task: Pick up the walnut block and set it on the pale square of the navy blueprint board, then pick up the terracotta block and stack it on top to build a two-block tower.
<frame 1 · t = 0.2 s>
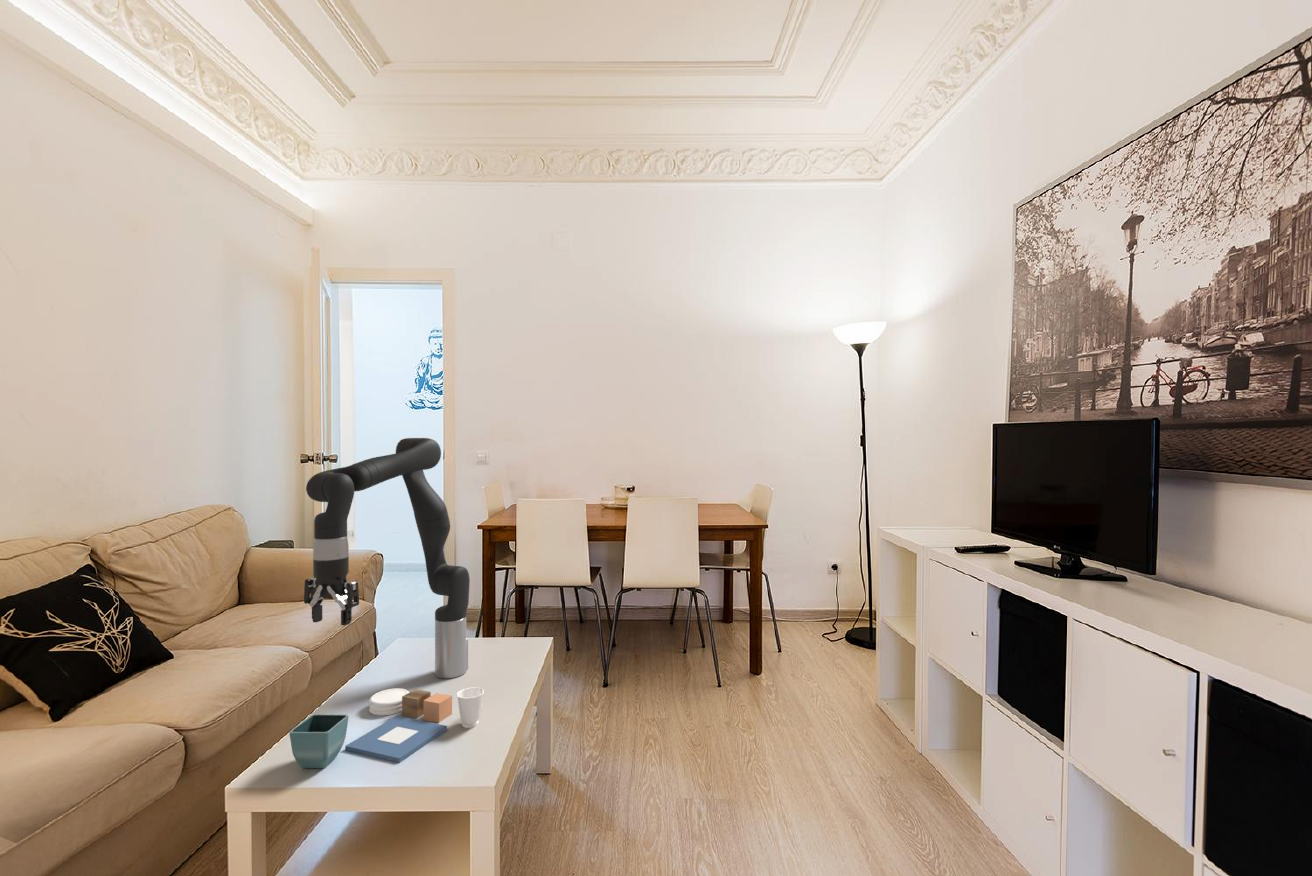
hand: (331, 623, 144), 28 cm above the table, fingers open, 8 cm apart
blueprint board: (397, 739, 144), on the table
flower pot: (319, 763, 134), on the table
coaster: (389, 709, 162), on the table
walnut block: (416, 713, 159), on the table
cup: (472, 722, 154), on the table
terracotta block: (437, 717, 156), on the table
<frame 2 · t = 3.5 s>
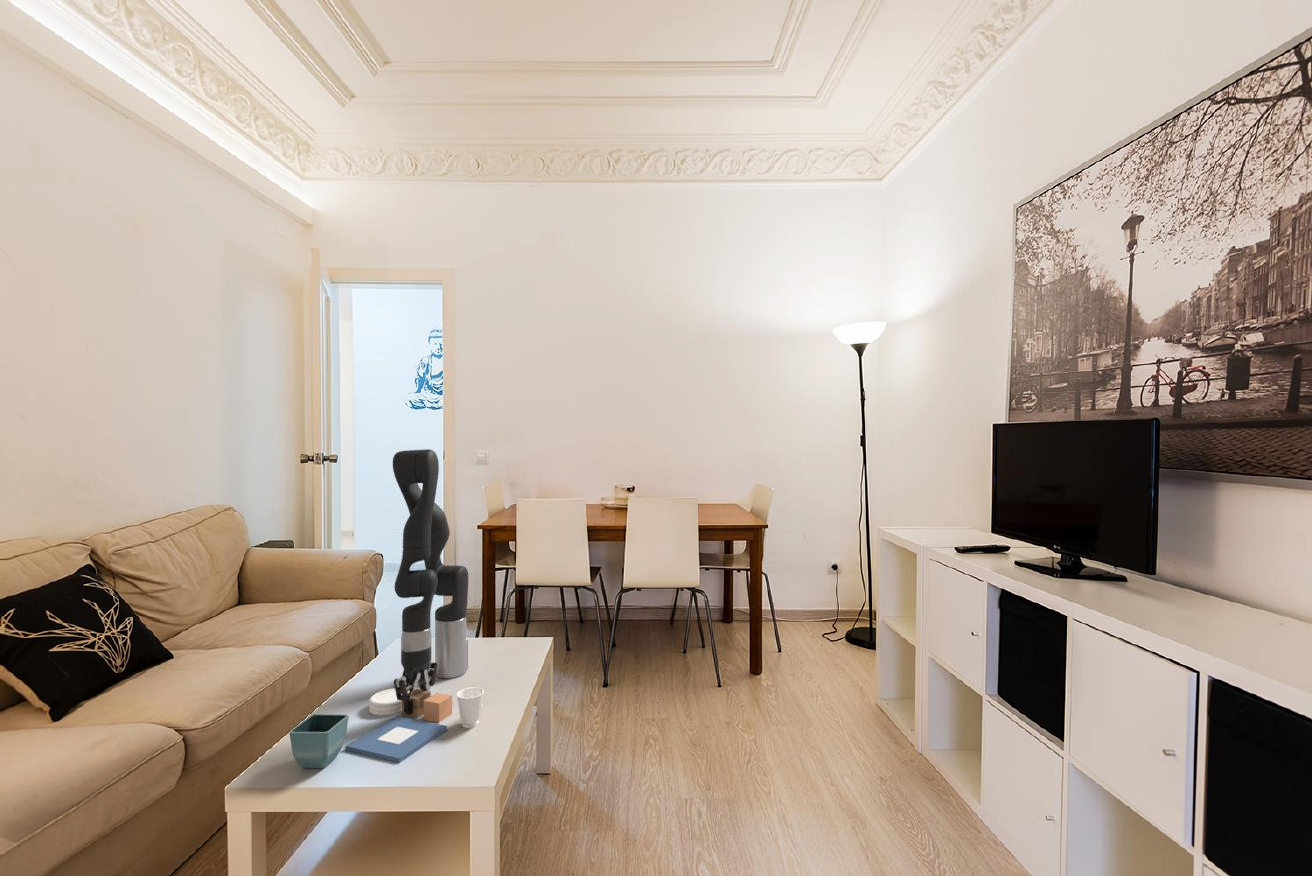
hand: (416, 709, 159), 1 cm above the table, fingers closed on walnut block, 5 cm apart
walnut block: (416, 712, 159), on the table, touching gripper
everything else where it was.
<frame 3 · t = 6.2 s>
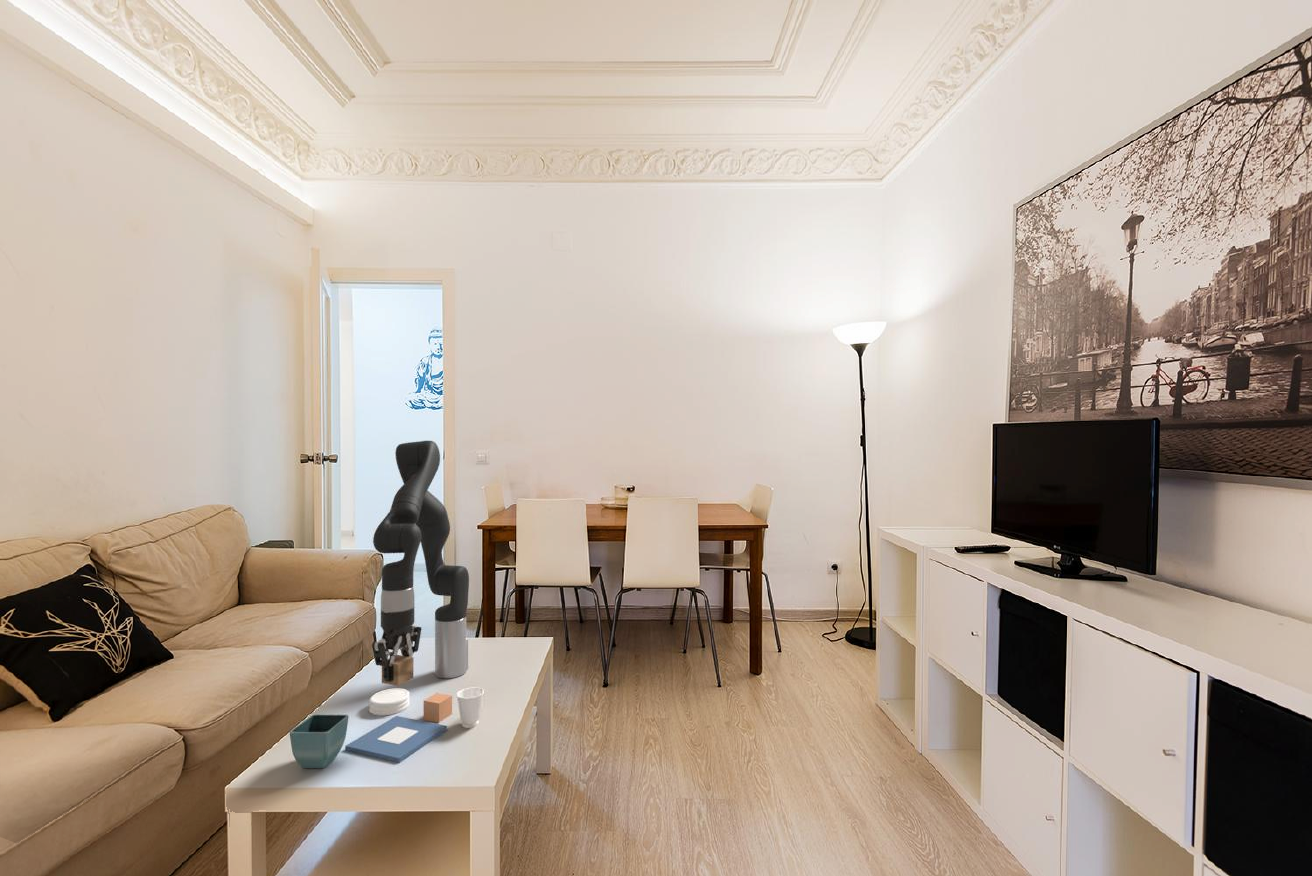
hand: (397, 676, 144), 15 cm above the table, fingers closed on walnut block, 5 cm apart
walnut block: (397, 680, 144), point 14 cm above the table, touching gripper
everything else where it was.
when the fingers open (3 cm above the table, at t = 8.9 s): walnut block stays where it is, resting on blueprint board.
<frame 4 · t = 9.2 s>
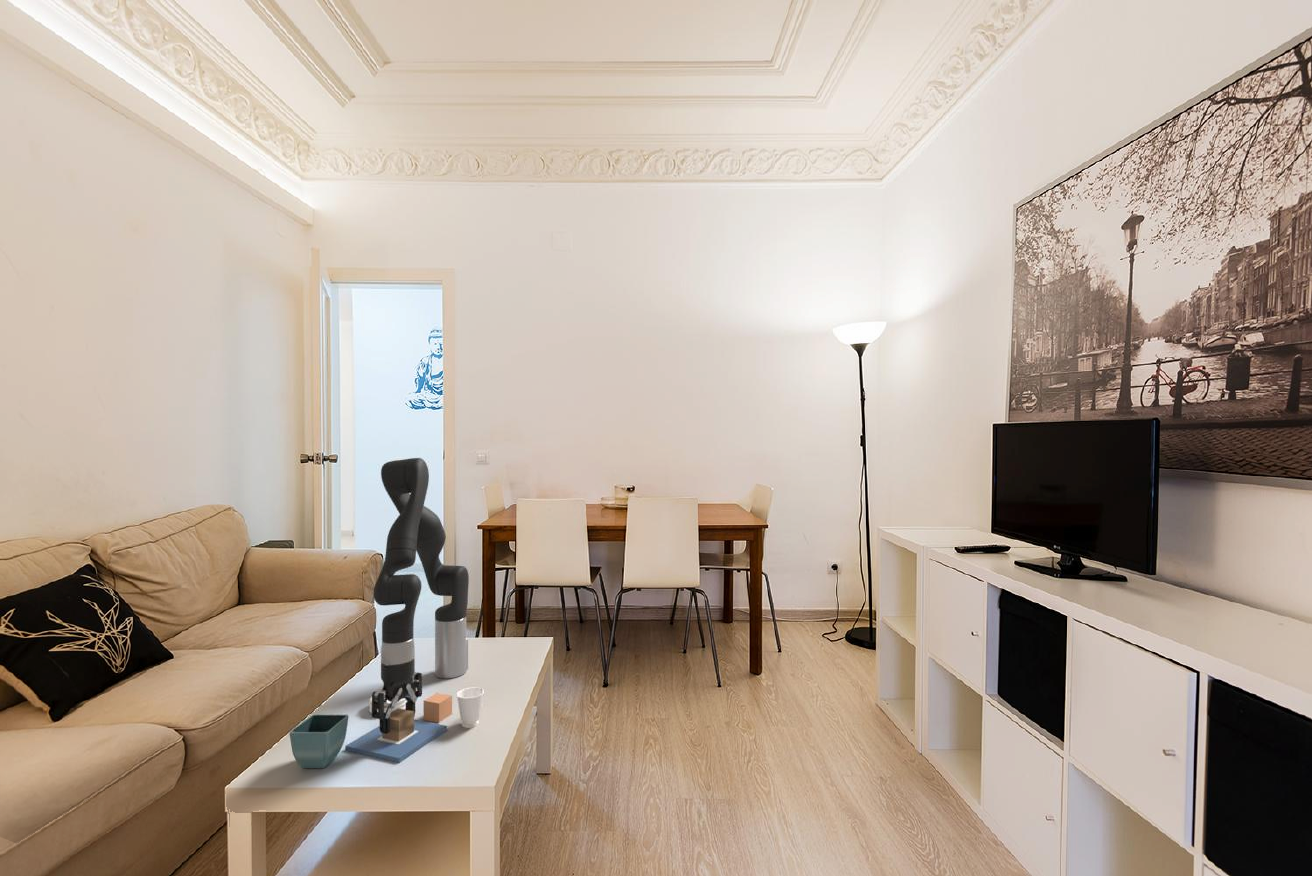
hand: (397, 725, 144), 4 cm above the table, fingers open, 7 cm apart
walnut block: (398, 735, 144), point 1 cm above the table, touching blueprint board
everything else where it was.
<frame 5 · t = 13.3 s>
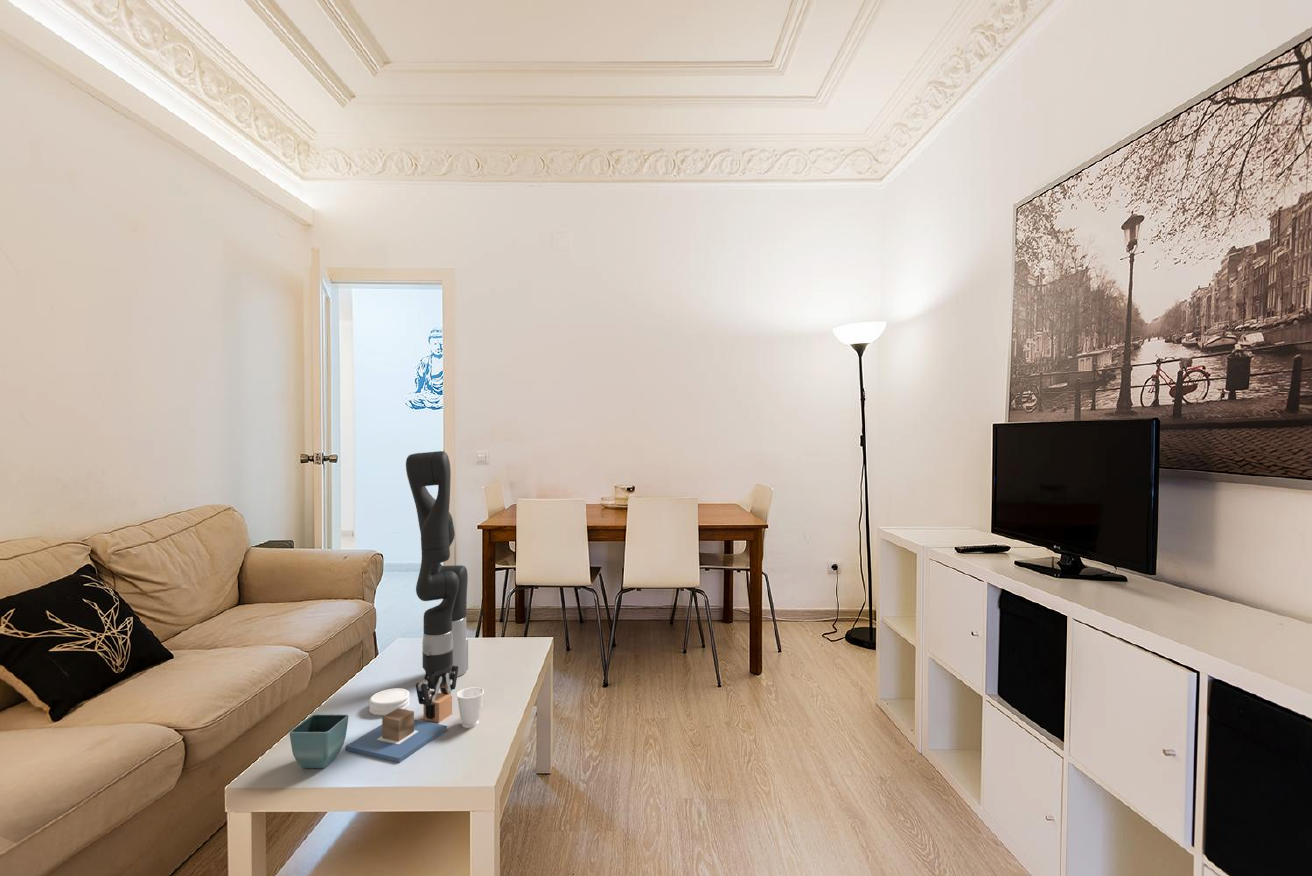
hand: (437, 713, 156), 1 cm above the table, fingers closed on terracotta block, 5 cm apart
terracotta block: (437, 716, 156), on the table, touching gripper
everything else where it was.
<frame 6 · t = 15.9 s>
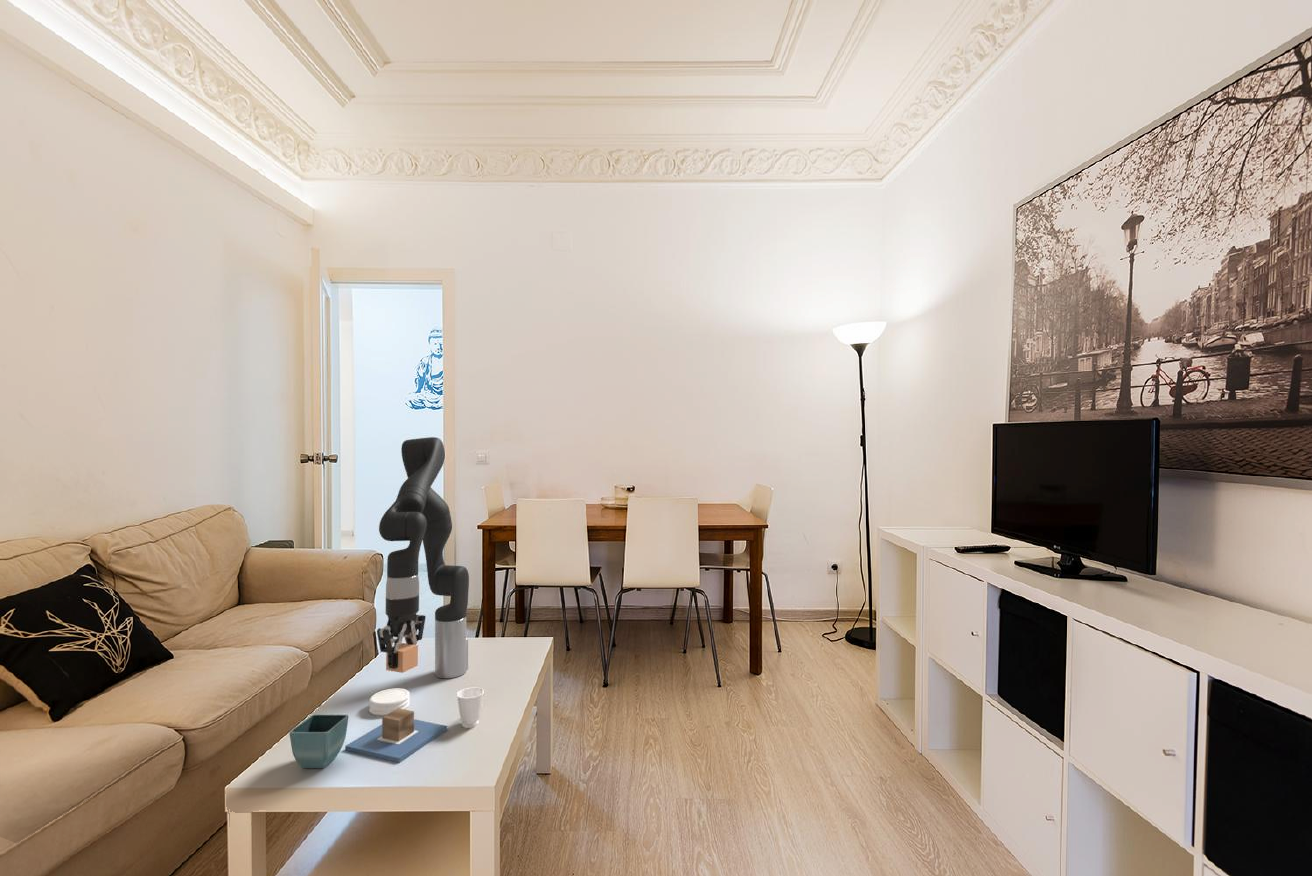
hand: (401, 663, 145), 18 cm above the table, fingers closed on terracotta block, 5 cm apart
terracotta block: (402, 667, 145), point 17 cm above the table, touching gripper
everything else where it was.
when the fingers open (8 cm above the table, at t = 18.8 s): terracotta block stays where it is, resting on walnut block.
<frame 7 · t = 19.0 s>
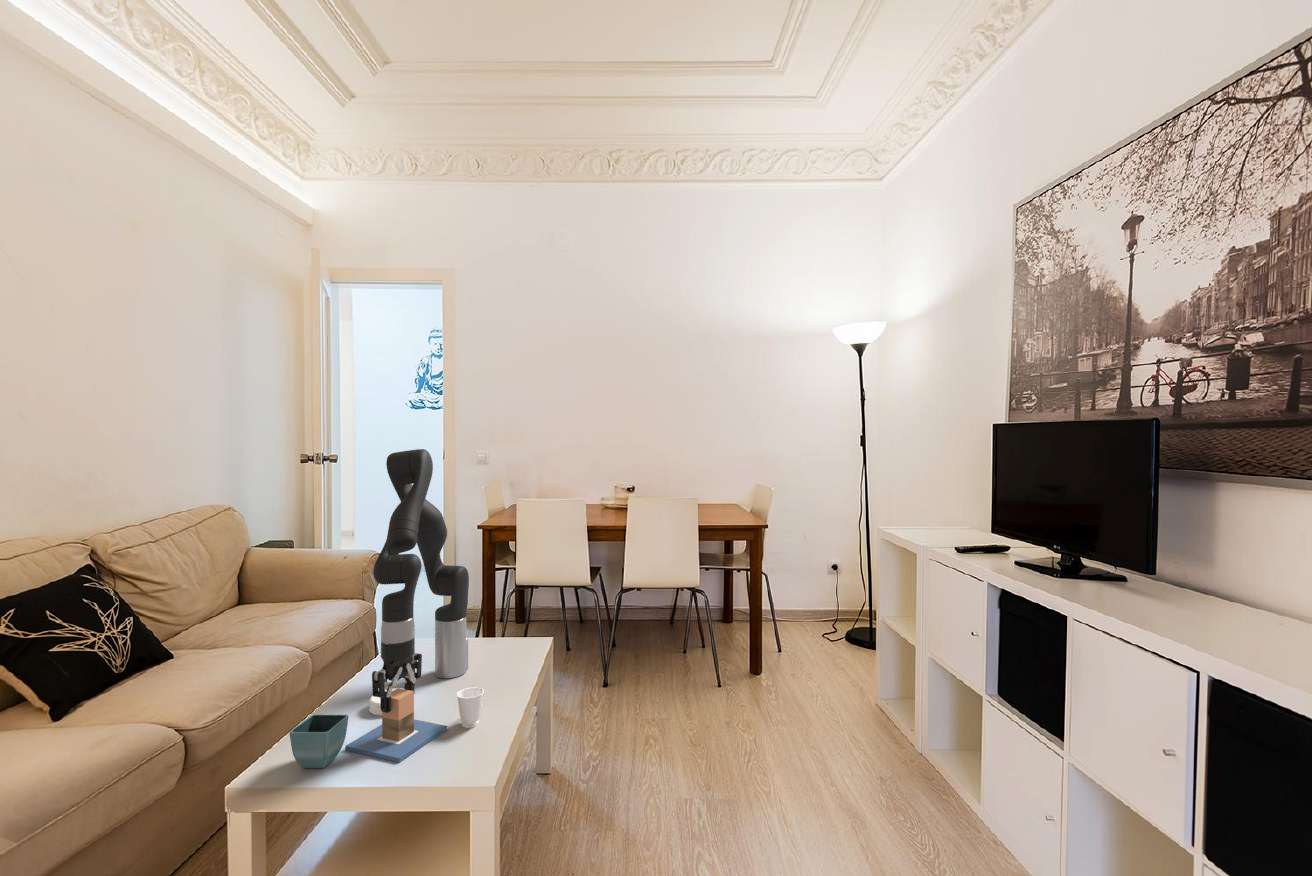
hand: (397, 705, 144), 8 cm above the table, fingers open, 7 cm apart
walnut block: (398, 735, 144), point 1 cm above the table, touching blueprint board, terracotta block
terracotta block: (398, 714, 144), point 6 cm above the table, touching walnut block
everything else where it was.
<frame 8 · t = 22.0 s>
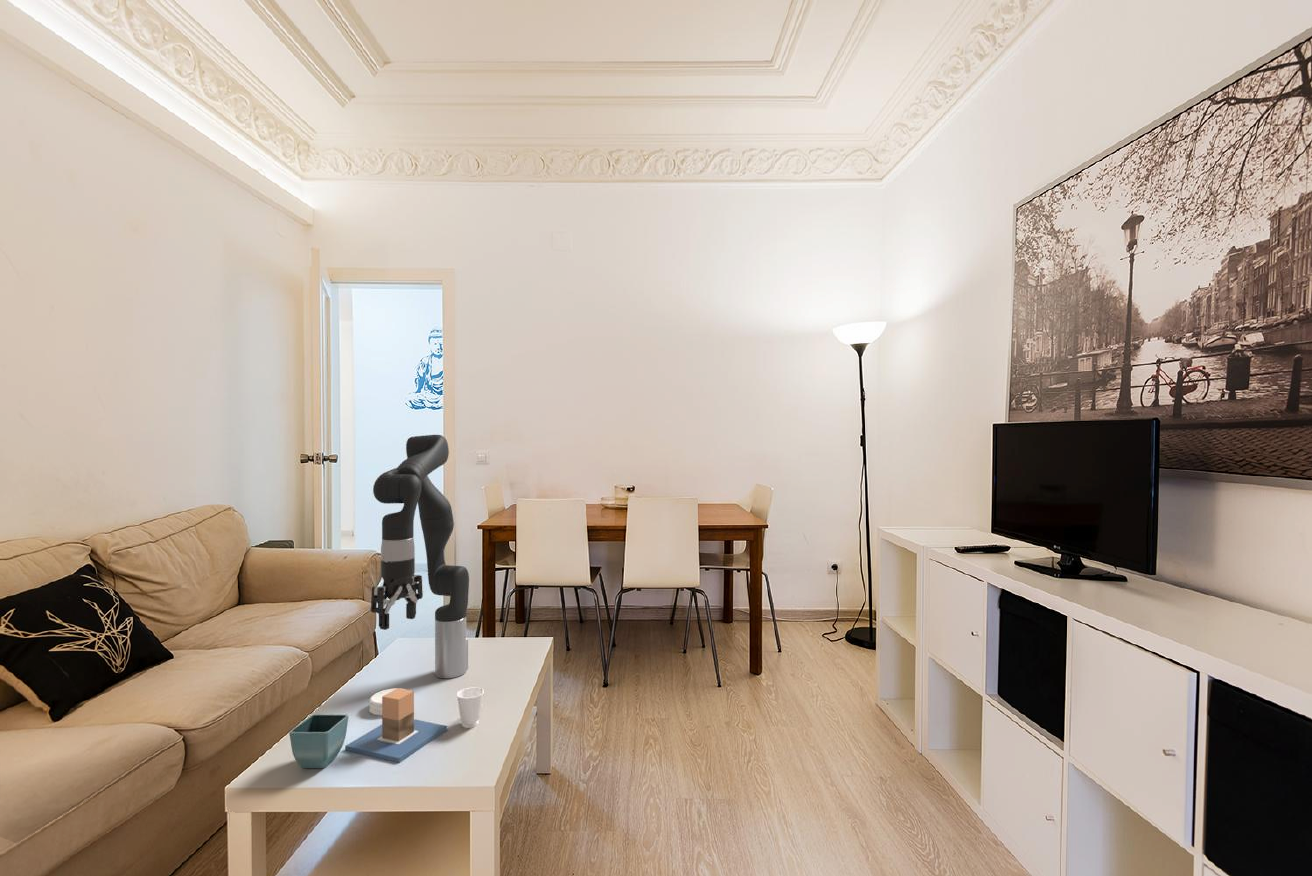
hand: (397, 623, 144), 28 cm above the table, fingers open, 8 cm apart
nothing on the table moved.
at the end: walnut block 0.1 cm off-centre on the blueprint board, point 1.1 cm above the blueprint board's base; terracotta block 0.1 cm off-centre on the walnut block, point 5.0 cm above the walnut block's base; terracotta block tilted 0° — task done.
